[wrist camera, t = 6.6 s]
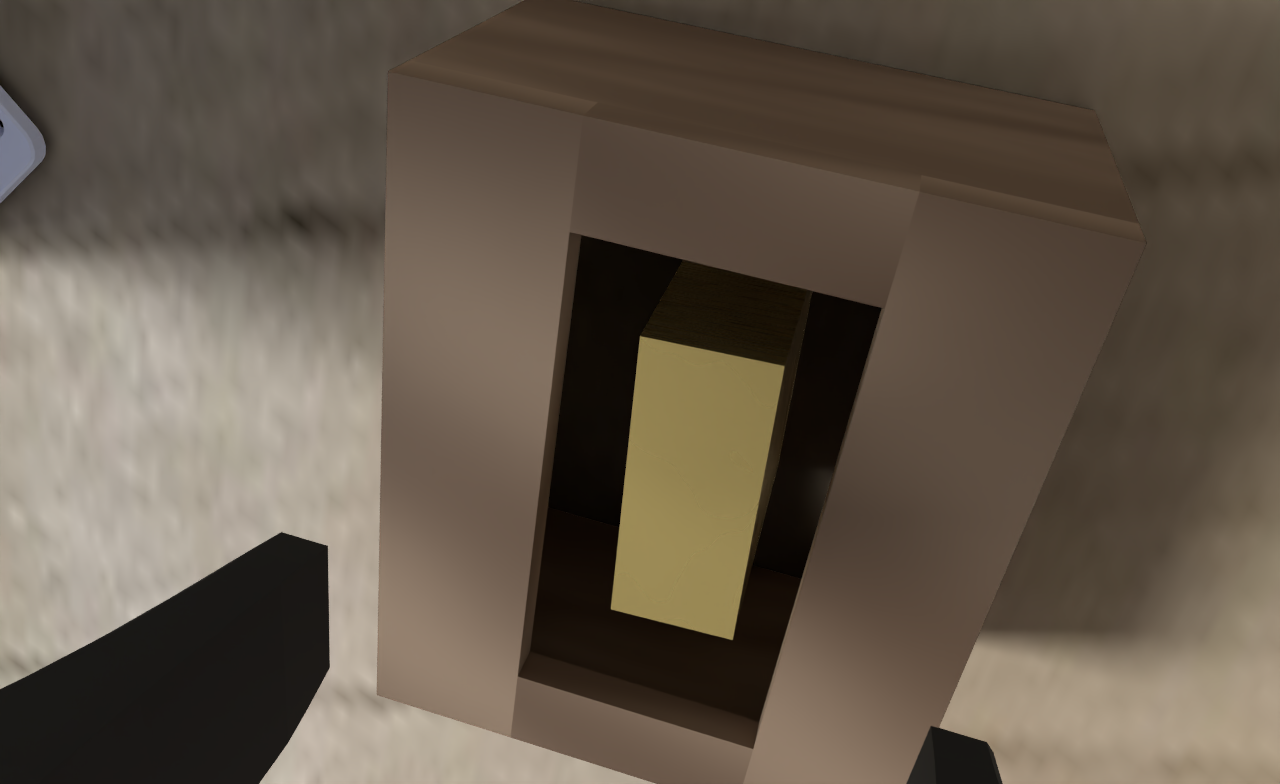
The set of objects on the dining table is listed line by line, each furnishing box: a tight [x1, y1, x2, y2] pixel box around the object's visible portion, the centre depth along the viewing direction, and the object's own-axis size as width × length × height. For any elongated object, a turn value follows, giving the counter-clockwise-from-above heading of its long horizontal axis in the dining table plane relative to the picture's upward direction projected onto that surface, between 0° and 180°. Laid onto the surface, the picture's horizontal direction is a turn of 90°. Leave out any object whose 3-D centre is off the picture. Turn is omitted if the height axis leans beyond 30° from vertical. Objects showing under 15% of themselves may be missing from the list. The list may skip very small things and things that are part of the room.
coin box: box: [377, 0, 1147, 784], centre depth 18 cm, size 11×9×6 cm
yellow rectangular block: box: [611, 260, 813, 640], centre depth 18 cm, size 5×2×5 cm, turn 175°
